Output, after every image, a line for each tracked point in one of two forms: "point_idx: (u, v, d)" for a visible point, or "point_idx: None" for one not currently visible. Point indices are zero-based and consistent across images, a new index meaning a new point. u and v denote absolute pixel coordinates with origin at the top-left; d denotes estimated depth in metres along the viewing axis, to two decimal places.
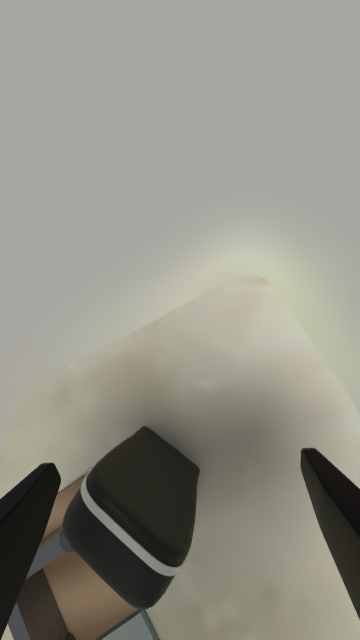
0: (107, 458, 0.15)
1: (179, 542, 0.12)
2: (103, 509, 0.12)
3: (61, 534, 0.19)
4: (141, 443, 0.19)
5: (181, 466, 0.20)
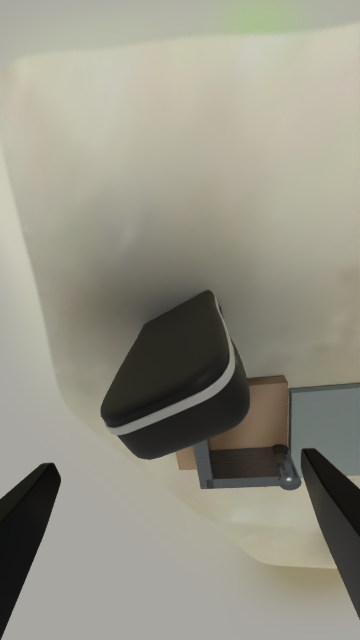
0: (110, 387, 0.13)
1: (207, 358, 0.10)
2: (130, 421, 0.10)
3: None
4: (143, 339, 0.17)
5: (189, 308, 0.17)
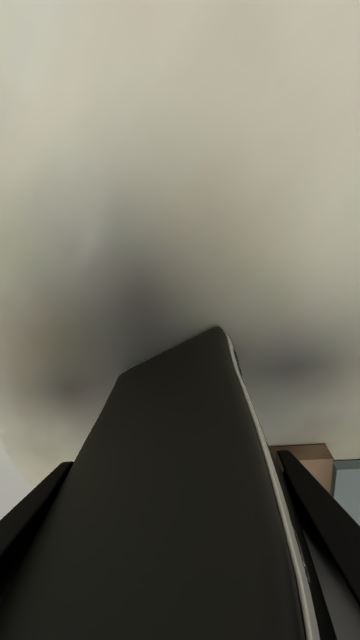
0: (15, 578, 0.06)
1: None
2: None
3: None
4: (110, 417, 0.10)
5: (187, 363, 0.10)
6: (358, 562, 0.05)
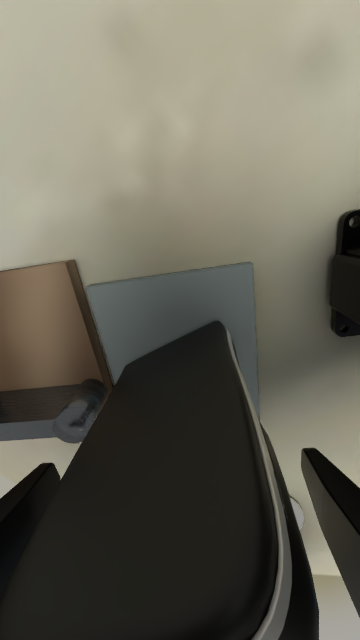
0: (37, 525, 0.07)
1: (226, 550, 0.04)
2: None
3: None
4: (117, 400, 0.11)
5: (188, 351, 0.11)
6: None
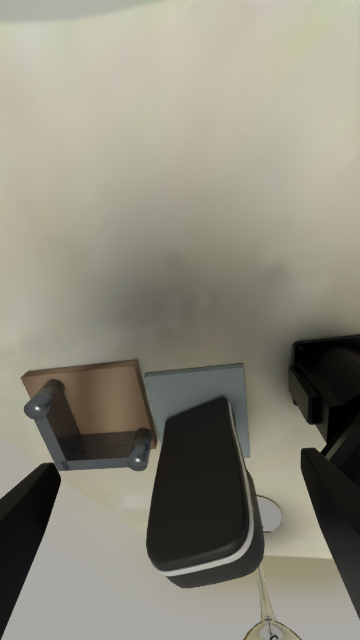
0: (150, 518, 0.16)
1: (233, 523, 0.13)
2: (173, 568, 0.13)
3: (30, 416, 0.20)
4: (169, 450, 0.20)
5: (208, 421, 0.20)
6: None
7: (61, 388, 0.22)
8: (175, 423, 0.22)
